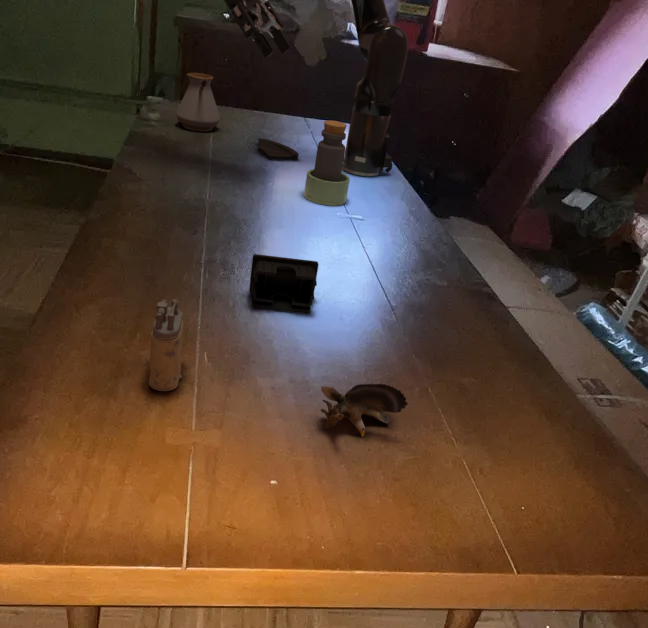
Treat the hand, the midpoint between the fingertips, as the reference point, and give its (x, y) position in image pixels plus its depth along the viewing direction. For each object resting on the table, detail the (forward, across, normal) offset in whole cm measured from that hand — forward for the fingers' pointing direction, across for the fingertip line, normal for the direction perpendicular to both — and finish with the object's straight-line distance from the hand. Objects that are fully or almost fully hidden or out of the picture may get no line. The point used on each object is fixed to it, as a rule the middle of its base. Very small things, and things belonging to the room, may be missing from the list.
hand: (278, 53), depth 147 cm
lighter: (+36, -81, +2) cm, 88 cm away
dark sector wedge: (+14, +24, +24) cm, 37 cm away
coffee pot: (-2, +25, +40) cm, 47 cm away
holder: (+29, +1, +9) cm, 30 cm away
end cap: (+38, -52, 0) cm, 64 cm away
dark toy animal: (+53, -77, -15) cm, 95 cm away
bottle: (+28, +1, +8) cm, 30 cm away
